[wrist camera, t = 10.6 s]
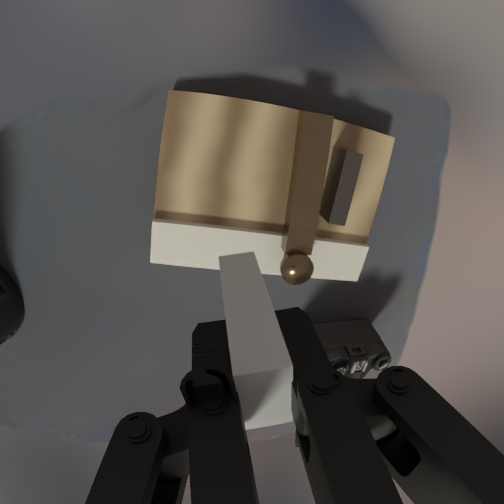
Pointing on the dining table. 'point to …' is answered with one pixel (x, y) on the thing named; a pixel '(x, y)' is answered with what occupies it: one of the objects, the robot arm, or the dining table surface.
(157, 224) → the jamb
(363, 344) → the camera
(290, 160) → the door slab
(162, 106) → the dining table surface
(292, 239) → the swing bar
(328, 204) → the bar
